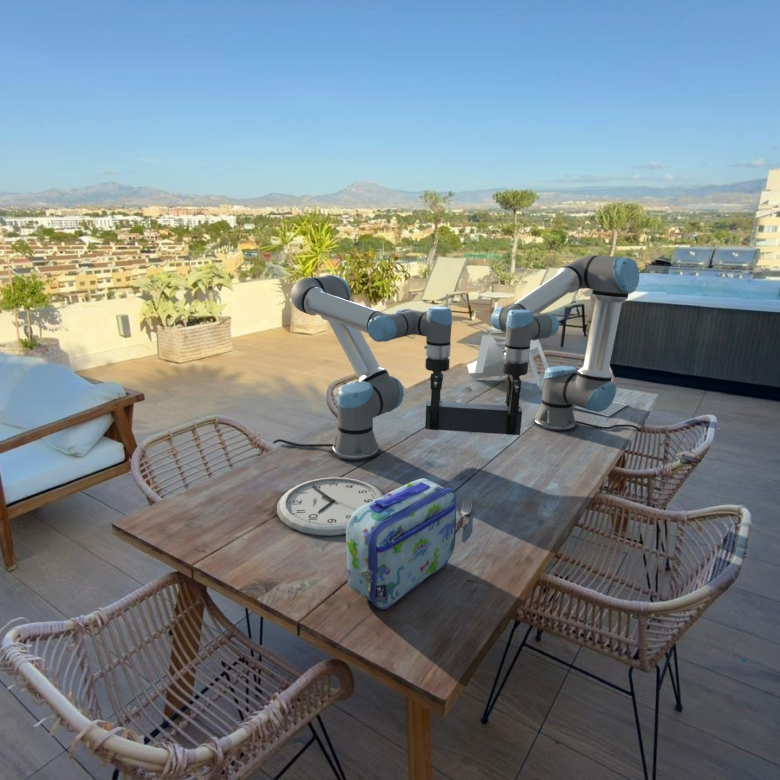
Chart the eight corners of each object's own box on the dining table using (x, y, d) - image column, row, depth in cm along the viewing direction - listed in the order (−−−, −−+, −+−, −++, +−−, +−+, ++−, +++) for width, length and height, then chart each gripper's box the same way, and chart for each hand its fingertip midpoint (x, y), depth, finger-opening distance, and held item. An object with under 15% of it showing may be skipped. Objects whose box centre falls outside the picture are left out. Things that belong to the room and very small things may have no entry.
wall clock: (392, 527, 129) (269, 531, 127) (392, 533, 130) (269, 537, 127) (383, 473, 158) (282, 475, 155) (383, 478, 158) (283, 480, 156)
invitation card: (608, 416, 214) (573, 407, 224) (608, 416, 214) (573, 407, 224) (627, 404, 229) (594, 396, 238) (627, 405, 229) (594, 397, 239)
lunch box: (375, 622, 100) (376, 527, 94) (339, 595, 108) (338, 505, 101) (459, 565, 118) (465, 481, 112) (424, 545, 125) (427, 465, 119)
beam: (518, 429, 170) (520, 406, 168) (519, 435, 165) (522, 411, 163) (425, 423, 173) (426, 400, 171) (425, 429, 168) (426, 405, 166)
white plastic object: (488, 421, 263) (468, 398, 238) (469, 347, 285) (449, 320, 260) (560, 397, 251) (547, 370, 226) (534, 322, 273) (519, 290, 248)
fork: (449, 535, 129) (449, 528, 129) (463, 505, 144) (463, 498, 143) (459, 537, 129) (460, 530, 128) (472, 507, 143) (473, 500, 142)
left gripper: (427, 349, 172) (425, 415, 179) (423, 363, 155) (420, 436, 162) (450, 351, 171) (447, 417, 178) (448, 364, 154) (444, 437, 161)
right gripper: (500, 353, 170) (495, 420, 177) (506, 367, 153) (500, 441, 160) (524, 354, 169) (517, 421, 176) (532, 368, 152) (525, 442, 159)
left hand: (434, 426), depth 170 cm, fingers closed on beam, 5 cm apart
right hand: (509, 430), depth 168 cm, fingers closed on beam, 5 cm apart
